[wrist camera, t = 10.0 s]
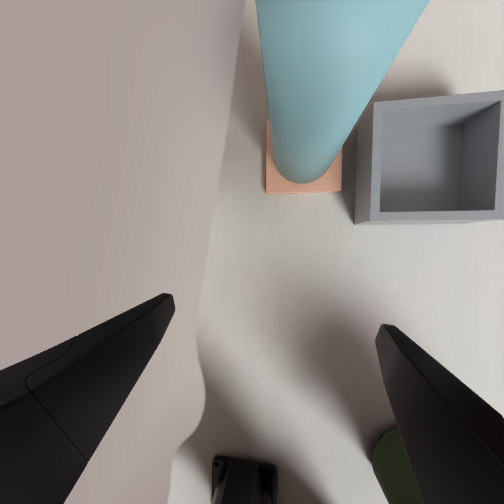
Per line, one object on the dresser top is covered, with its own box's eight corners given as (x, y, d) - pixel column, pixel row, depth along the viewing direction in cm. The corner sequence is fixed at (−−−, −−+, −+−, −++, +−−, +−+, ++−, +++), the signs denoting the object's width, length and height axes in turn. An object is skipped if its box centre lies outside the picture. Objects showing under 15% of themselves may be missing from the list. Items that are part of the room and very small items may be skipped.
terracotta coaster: (339, 191, 18) (341, 190, 18) (266, 193, 19) (266, 192, 19) (341, 116, 18) (343, 112, 17) (267, 122, 19) (266, 118, 18)
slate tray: (461, 223, 17) (504, 219, 14) (354, 224, 18) (370, 220, 15) (466, 120, 17) (512, 89, 13) (356, 128, 18) (373, 102, 14)
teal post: (339, 173, 18) (469, 12, 5) (282, 191, 18) (278, 85, 6) (325, 116, 18) (422, -182, 5) (267, 136, 18) (235, -82, 6)
